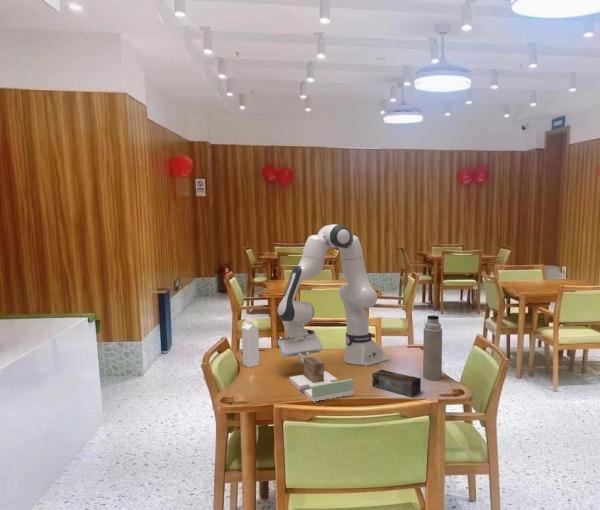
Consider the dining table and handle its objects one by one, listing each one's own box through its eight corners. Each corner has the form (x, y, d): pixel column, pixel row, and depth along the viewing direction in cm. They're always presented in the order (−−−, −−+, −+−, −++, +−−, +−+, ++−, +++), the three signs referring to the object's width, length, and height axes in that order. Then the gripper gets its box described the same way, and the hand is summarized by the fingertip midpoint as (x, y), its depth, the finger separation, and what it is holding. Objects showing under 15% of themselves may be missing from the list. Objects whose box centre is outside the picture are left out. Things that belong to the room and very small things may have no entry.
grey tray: (325, 375, 204) (325, 361, 203) (353, 394, 181) (353, 379, 180) (289, 381, 197) (289, 367, 196) (313, 402, 174) (313, 386, 173)
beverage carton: (381, 381, 196) (381, 367, 195) (421, 392, 183) (422, 377, 183) (371, 387, 190) (371, 372, 189) (413, 398, 177) (413, 382, 176)
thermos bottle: (423, 373, 204) (424, 313, 202) (441, 375, 202) (442, 314, 199) (422, 379, 197) (423, 317, 194) (441, 381, 194) (442, 318, 192)
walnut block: (313, 373, 200) (313, 356, 199) (323, 381, 191) (323, 363, 190) (303, 375, 198) (303, 358, 197) (313, 383, 189) (313, 364, 188)
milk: (248, 367, 216) (247, 323, 213) (242, 364, 220) (241, 321, 218) (259, 365, 219) (258, 321, 217) (253, 361, 224) (251, 319, 222)
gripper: (277, 335, 204) (286, 362, 196) (318, 330, 212) (327, 356, 204) (274, 342, 208) (282, 369, 200) (314, 337, 216) (323, 362, 208)
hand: (305, 362), depth 202 cm, fingers closed
